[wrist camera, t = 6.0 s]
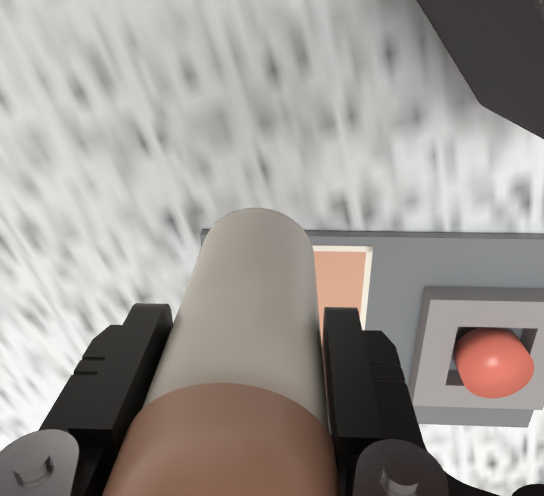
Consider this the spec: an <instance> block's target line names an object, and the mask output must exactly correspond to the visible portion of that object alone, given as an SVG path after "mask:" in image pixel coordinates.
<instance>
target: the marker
mask: <svg viewBox="0 0 544 496" xmlns="http://www.w3.org/2000/svg"><path fill="white" fill-rule="evenodd" d="M102 496H341V491H340V480H339V473H338V469H337V465H336V457H335V446H334V443H333V440H332V438H331V436H330V434H329V426H328V414H327V403H326V391H325V379H324V367H323V355H322V343H321V332H320V320H319V308H318V296H317V284H316V272H315V261H314V252H313V247H312V244H311V241H310V239H309V237H308V236H307V234H306V233H305V231H304V230H303V229H302V228H301V227H300V225H299V224H297V223H296V222H295V221H294V220H293V219H291V218H289V217H288V216H286V215H284V214H282V213H280V212H277V211H274V210H270V209H264V208H247V209H242V210H238V211H235V212H232V213H230V214H228V215H226V216H225V217H223V218H221V219H220V220H219V221H218V222H217V223H215V224H214V226H213V227H212V228H211V229H210V231H209V232H208V234H207V235H206V238H205V240H204V242H203V245H202V248H201V250H200V253H199V256H198V258H197V261H196V264H195V266H194V269H193V272H192V275H191V277H190V280H189V283H188V285H187V288H186V291H185V293H184V296H183V299H182V302H181V304H180V307H179V310H178V312H177V315H176V318H175V320H174V323H173V326H172V329H171V331H170V334H169V337H168V339H167V342H166V345H165V347H164V350H163V353H162V356H161V358H160V361H159V364H158V366H157V369H156V372H155V374H154V377H153V380H152V383H151V385H150V388H149V391H148V393H147V396H146V399H145V401H144V404H143V407H142V410H141V411H140V412H139V413H138V414H137V415H136V417H135V418H134V419H133V421H132V422H131V424H130V426H129V428H128V430H127V432H126V435H125V437H124V440H123V443H122V445H121V448H120V450H119V453H118V456H117V458H116V461H115V463H114V466H113V468H112V471H111V474H110V476H109V479H108V481H107V484H106V487H105V489H104V492H103V494H102Z"/></svg>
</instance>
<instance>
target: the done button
mask: <svg viewBox="0 0 544 496" xmlns="http://www.w3.org/2000/svg"><path fill="white" fill-rule="evenodd" d="M453 360H454V363H455V365H456V367H457V370H458V372H459V374H460V377H461V379H462V381H463V384H464V386H465V387H466V388H467V389H468V391H470V392H471V393H473V394H474V395H477V396H479V397H483V398H502V397H506V396H509V395H512V394H514V393H516V392H518V391H519V390H521V389H522V388H523V387H525V386H526V385H527V384H528V382H529V381H530V380H531V378H532V376H533V373H534V362H533V360H532V358H531V356H530V355H529V353H528V352H527V350H526V349H525V347H524V346H523V344H522V343H521V341H520V339H519V338H518V337H517V335H516V334H515V333H514V332H512V331H511V330H509V329H507V328H498V327H479V328H476V329H474V330H472V331H470V332H468V333H467V334H465V335H464V336H463V337H462V338H461V339H460V340H459V341H458V342H457V344H456V345H455V348H454V351H453Z"/></svg>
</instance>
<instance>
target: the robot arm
mask: <svg viewBox="0 0 544 496" xmlns="http://www.w3.org/2000/svg"><path fill="white" fill-rule="evenodd" d="M172 326H173V321H172V314H171V309H170V306H169V305H168V304H142V303H136V304H134V305H133V307H132V308H131V310H130V312H129V314H128V316H127V318H126V320H125V322H124V323H123V325H110V326H109V327H107V328H106V329H105V330H104V331H103V332H101V333H100V334H99V335H98V336H96V337H95V338H94V339H93V340H92V342H91V343H90V345H89V347H88V348H87V350H86V352H85V353H84V355H83V357H82V360H80V362H79V363H78V365H77V367H76V368H75V370H74V374H73V375H71V377H70V378H69V380H68V382H67V383H66V385H65V387H64V388H63V390H62V392H61V393H60V395H59V397H58V398H57V400H56V402H55V403H54V405H53V407H52V408H51V410H50V412H49V414H48V415H47V417H46V419H45V420H44V422H43V424H42V425H41V427H40V429H39V430H38V431H36V432H33V433H30V434H27V435H25V436H23V437H20V438H19V439H17V440H15V441H13V442H12V443H11V444H9V445H8V446H6V447H5V448H4V449H3V450H2V451H1V452H0V496H102V494H103V492H104V489H105V487H106V484H107V481H108V479H109V476H110V474H111V471H112V468H113V466H114V463H115V461H116V458H117V456H118V453H119V450H120V448H121V445H122V443H123V440H124V437H125V435H126V432H127V430H128V428H129V426H130V424H131V422H132V421H133V419H134V418H135V417H136V415H137V414H138V413H139V412H140V411H141V410H142V407H143V404H144V401H145V399H146V396H147V393H148V391H149V388H150V385H151V383H152V380H153V377H154V374H155V372H156V369H157V366H158V364H159V361H160V358H161V356H162V353H163V350H164V347H165V345H166V342H167V339H168V337H169V334H170V331H171V329H172ZM322 355H323V367H324V379H325V391H326V403H327V414H328V426H329V434H330V436H331V438H332V440H333V443H334V446H335V457H336V465H337V469H338V473H339V480H340V491H341V496H499V495H496V494H493V493H490V492H487V491H484V490H481V489H478V488H474V487H472V486H469V485H467V484H464V483H462V482H460V481H458V480H456V479H455V478H453V477H452V476H450V475H449V474H447V473H446V472H445V471H444V470H443V469H442V467H441V465H440V464H439V463H438V461H437V460H436V459H435V458H434V457H433V456H432V455H431V454H430V453H428V451H427V450H426V447H425V445H424V442H423V439H422V435H421V432H420V428H419V425H418V422H417V418H416V415H415V411H414V408H413V404H412V401H411V397H410V394H409V391H408V387H407V384H406V383H405V377H404V373H403V370H402V368H401V363H400V360H399V356H398V353H397V349H396V346H395V345H394V344H393V343H392V342H391V341H390V339H389V338H388V337H387V336H386V335H385V334H384V333H383V332H382V331H381V330H362V326H361V322H360V317H359V312H358V308H357V307H325V308H324V318H323V338H322ZM512 496H544V484H530V485H526V486H523V487H521V488H519V489H517V490H516V491H515V492H514V493H513V494H512Z"/></svg>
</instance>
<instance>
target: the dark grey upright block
mask: <svg viewBox="0 0 544 496" xmlns="http://www.w3.org/2000/svg"><path fill="white" fill-rule="evenodd" d="M417 1H418V3H419V4H420V6H421V8H422V9H423V11H424V13H425V14H426V16H427V18H428V19H429V21H430V22H431V24H432V26H433V27H434V29H435V31H436V32H437V34H438V36H439V37H440V39H441V40H442V42H443V44H444V45H445V47H446V49H447V50H448V52H449V54H450V55H451V57H452V58H453V60H454V62H455V63H456V65H457V67H458V68H459V70H460V72H461V73H462V75H463V76H464V78H465V80H466V81H467V83H468V85H469V86H470V88H471V90H472V91H473V93H474V94H475V96H476V98H477V99H478V101H479V102H480V104H481V105H482V106H484V107H485V108H487V109H489V110H491V111H493V112H495V113H496V114H498V115H500V116H502V117H504V118H506V119H507V120H509V121H511V122H513V123H515V124H517V125H519V126H520V127H522V128H524V129H526V130H528V131H530V132H531V133H533V134H535V135H537V136H539V137H541V138H543V139H544V0H417Z"/></svg>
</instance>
